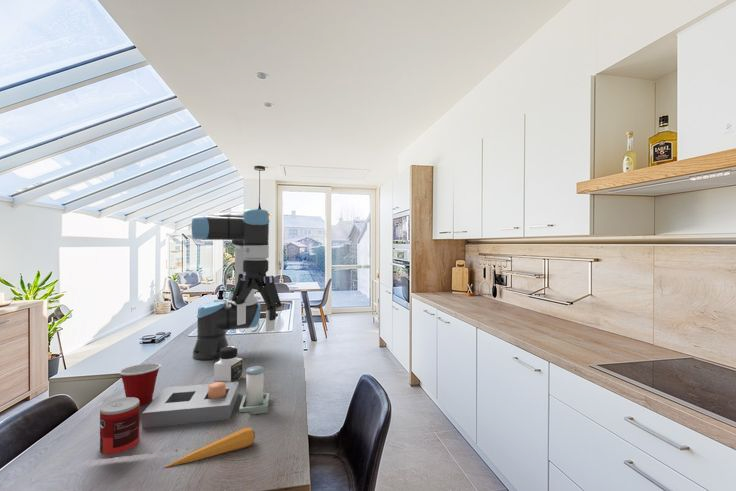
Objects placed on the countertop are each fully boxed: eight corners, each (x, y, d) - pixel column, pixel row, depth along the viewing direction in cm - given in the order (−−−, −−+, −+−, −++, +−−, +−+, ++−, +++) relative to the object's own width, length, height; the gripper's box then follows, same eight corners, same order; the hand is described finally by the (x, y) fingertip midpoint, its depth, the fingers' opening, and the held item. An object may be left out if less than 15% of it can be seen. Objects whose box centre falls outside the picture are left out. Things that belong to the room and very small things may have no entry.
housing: (165, 403, 104) (165, 387, 104) (238, 396, 109) (238, 381, 109) (142, 431, 88) (142, 412, 88) (229, 422, 93) (229, 405, 93)
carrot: (254, 443, 85) (251, 424, 86) (256, 445, 81) (254, 425, 83) (164, 477, 75) (162, 455, 77) (162, 481, 72) (160, 458, 73)
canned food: (113, 439, 84) (113, 397, 84) (146, 438, 85) (146, 396, 85) (91, 459, 77) (91, 412, 77) (127, 457, 78) (127, 411, 77)
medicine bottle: (231, 384, 118) (231, 351, 118) (213, 382, 119) (213, 349, 119) (242, 376, 125) (242, 345, 125) (225, 375, 126) (226, 344, 126)
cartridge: (242, 405, 101) (242, 369, 101) (256, 398, 106) (256, 364, 106) (253, 410, 99) (253, 373, 99) (267, 403, 103) (267, 368, 103)
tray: (243, 401, 106) (243, 395, 106) (269, 398, 107) (269, 392, 107) (238, 415, 97) (238, 408, 97) (267, 412, 99) (267, 406, 99)
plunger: (210, 401, 102) (210, 382, 102) (227, 400, 103) (227, 381, 103) (206, 409, 97) (206, 389, 97) (223, 407, 98) (223, 387, 98)
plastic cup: (163, 394, 110) (163, 358, 109) (157, 409, 100) (158, 370, 100) (123, 400, 105) (123, 363, 105) (113, 417, 95) (114, 376, 95)
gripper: (220, 258, 106) (220, 324, 106) (274, 261, 92) (273, 336, 92) (240, 257, 112) (240, 319, 112) (293, 260, 99) (292, 330, 99)
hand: (255, 327), depth 102 cm, fingers open, 13 cm apart
